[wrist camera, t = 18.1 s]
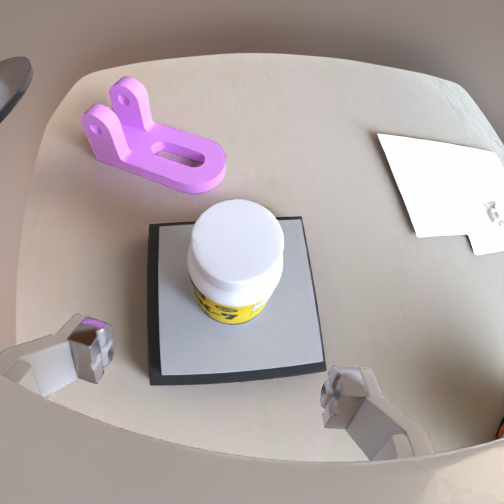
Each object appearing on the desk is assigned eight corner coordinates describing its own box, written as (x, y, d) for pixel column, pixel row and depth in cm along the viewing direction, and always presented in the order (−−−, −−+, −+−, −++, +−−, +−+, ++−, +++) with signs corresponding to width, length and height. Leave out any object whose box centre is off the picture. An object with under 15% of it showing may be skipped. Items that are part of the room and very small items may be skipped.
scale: (156, 385, 20) (146, 385, 18) (153, 235, 25) (146, 218, 22) (318, 371, 22) (330, 370, 19) (296, 227, 26) (304, 210, 24)
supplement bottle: (181, 294, 20) (157, 240, 13) (228, 246, 22) (231, 172, 14) (236, 341, 19) (244, 316, 12) (281, 289, 21) (314, 233, 13)
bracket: (97, 159, 28) (75, 111, 21) (128, 123, 30) (114, 74, 23) (208, 202, 27) (205, 148, 20) (235, 158, 29) (239, 103, 22)
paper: (491, 147, 36) (494, 143, 35) (539, 244, 29) (543, 241, 28) (369, 135, 32) (372, 129, 31) (429, 276, 25) (435, 272, 24)
